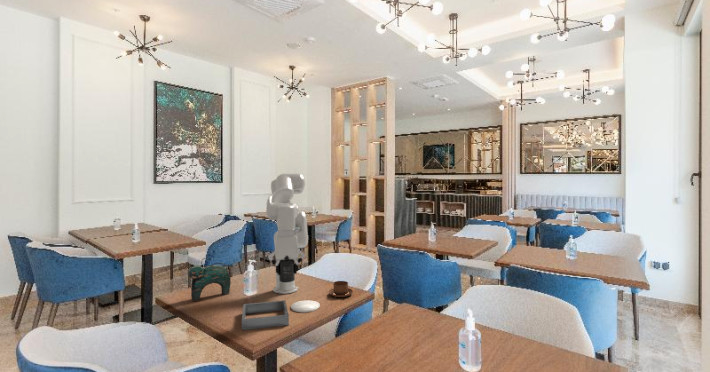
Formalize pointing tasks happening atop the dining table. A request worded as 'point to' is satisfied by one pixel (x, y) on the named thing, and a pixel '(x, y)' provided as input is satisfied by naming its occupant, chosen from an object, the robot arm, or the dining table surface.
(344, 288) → the cup and saucer
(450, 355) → the dining table surface
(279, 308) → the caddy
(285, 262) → the supplement bottle
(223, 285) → the ceramic cat
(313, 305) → the plate
